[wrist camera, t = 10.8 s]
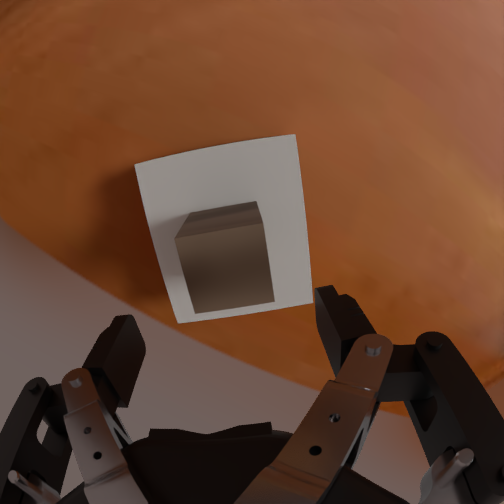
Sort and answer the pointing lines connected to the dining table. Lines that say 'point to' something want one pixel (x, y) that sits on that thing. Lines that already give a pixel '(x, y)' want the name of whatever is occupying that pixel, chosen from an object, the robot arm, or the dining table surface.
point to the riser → (225, 194)
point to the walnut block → (225, 258)
